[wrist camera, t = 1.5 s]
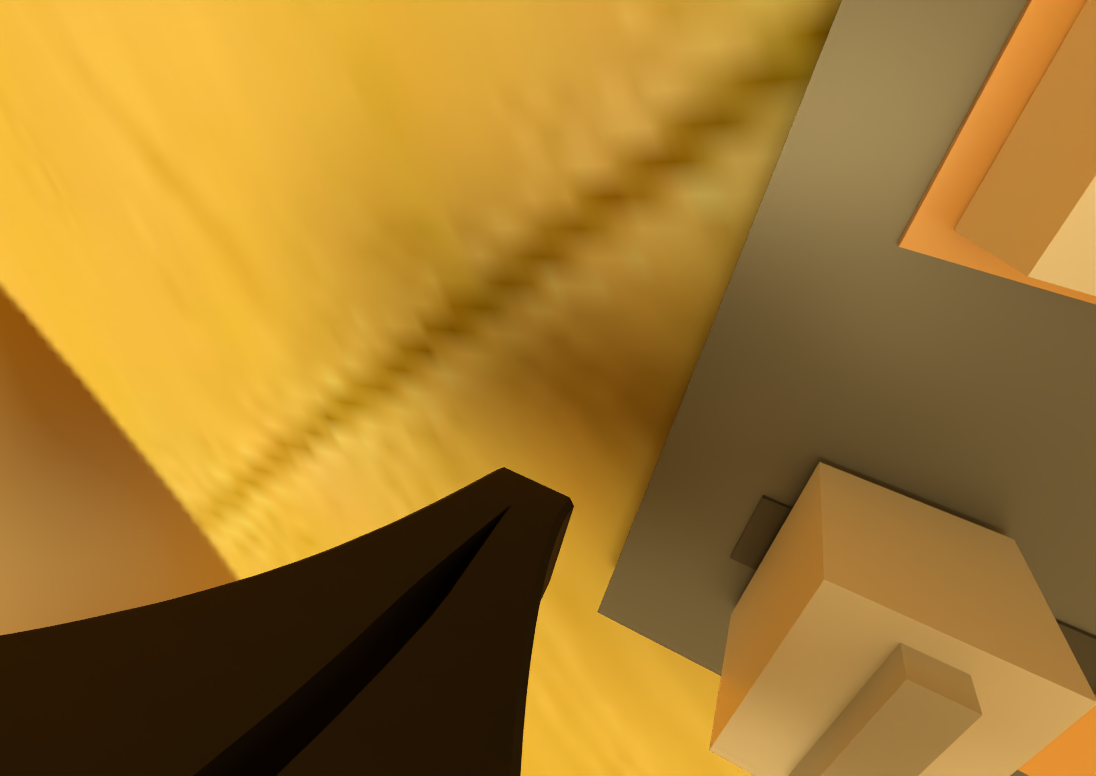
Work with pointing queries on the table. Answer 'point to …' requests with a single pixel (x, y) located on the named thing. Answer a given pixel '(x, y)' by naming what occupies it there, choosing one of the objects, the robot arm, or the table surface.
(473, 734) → the robot arm
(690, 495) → the switch board
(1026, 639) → the switch
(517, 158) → the table surface
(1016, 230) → the switch
